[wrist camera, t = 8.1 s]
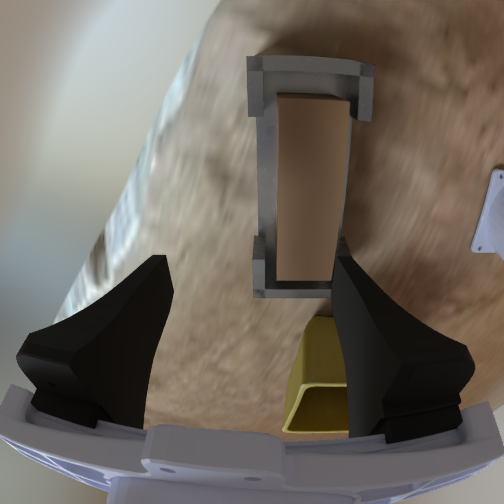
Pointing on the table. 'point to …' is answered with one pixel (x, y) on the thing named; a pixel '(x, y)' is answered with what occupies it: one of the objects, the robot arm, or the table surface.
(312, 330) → the flower pot
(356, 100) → the bracket
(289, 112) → the block
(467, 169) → the table surface
